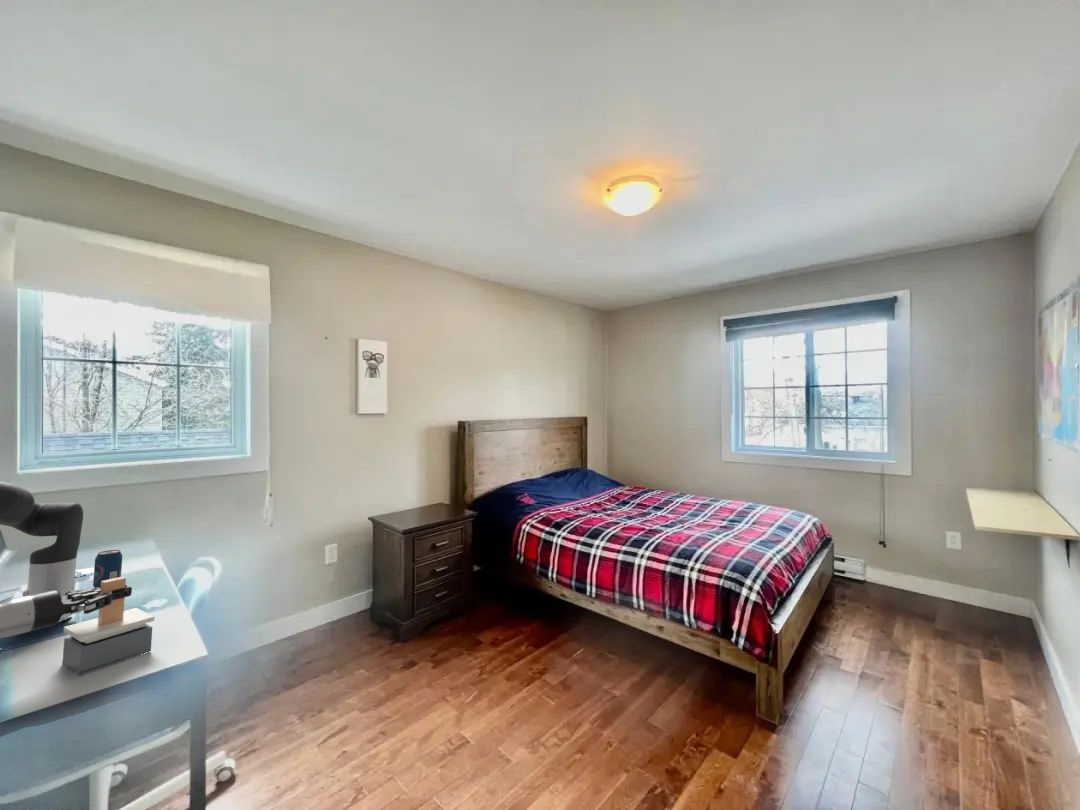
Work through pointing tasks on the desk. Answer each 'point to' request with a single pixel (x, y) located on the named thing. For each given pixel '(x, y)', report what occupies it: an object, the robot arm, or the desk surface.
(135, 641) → the tub
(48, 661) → the desk surface
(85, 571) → the external hard drive
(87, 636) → the lid
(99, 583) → the soda can
